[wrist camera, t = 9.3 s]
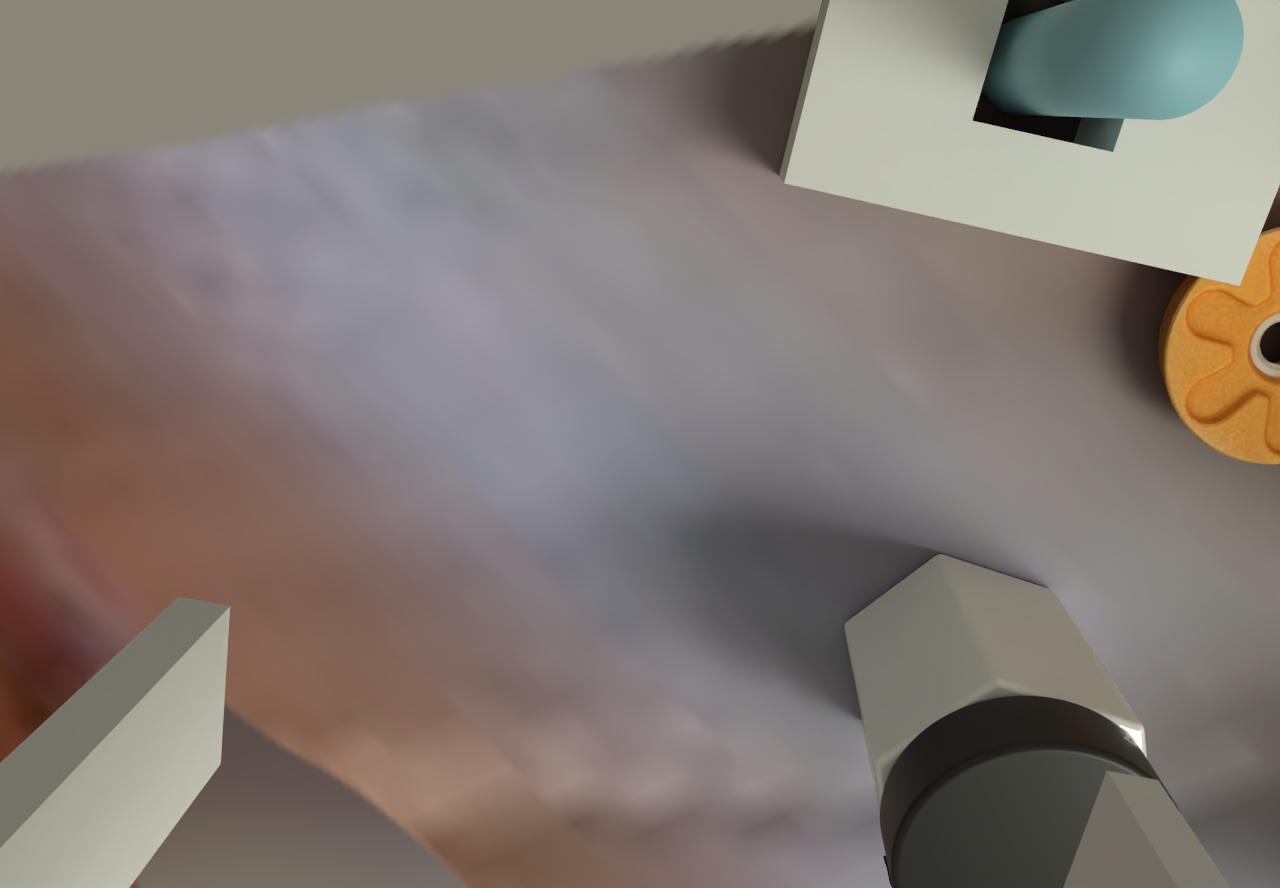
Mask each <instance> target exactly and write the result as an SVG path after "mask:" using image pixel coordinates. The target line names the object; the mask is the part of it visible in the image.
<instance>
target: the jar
mask: <svg viewBox="0 0 1280 888" xmlns="http://www.w3.org/2000/svg"><path fill="white" fill-rule="evenodd" d="M844 630H845V636H846V641H847V646H848V652H849V657H850V663H851V668H852V673H853V679H854V684H855V689H856V695H857V700H858V706H859V711H860V716H861V722H862V727H863V732H864V736H865V741H866V746H867V751H868V756H869V761H870V766H871V770H872V775H873V780H874V785H875V790H876V795H877V800H878V804H879V809H880V826H881V833H882V838H883V843H884V848H885V853H886V856H884V861H885V864H886V867H887V871H888V876H889V881H890V884H891V886H892V887H893V888H1063V887H1064V885H1065V882H1066V879H1067V876H1068V874H1069V871H1070V868H1071V866H1072V863H1073V860H1074V858H1075V855H1076V852H1077V850H1078V847H1079V844H1080V842H1081V839H1082V836H1083V833H1084V831H1085V828H1086V825H1087V823H1088V820H1089V817H1090V815H1091V812H1092V809H1093V807H1094V804H1095V801H1096V799H1097V796H1098V793H1099V790H1100V788H1101V785H1102V782H1103V780H1104V777H1105V774H1106V772H1107V771H1112V772H1117V773H1123V774H1128V775H1133V776H1139V777H1144V778H1149V779H1155V780H1158V781H1159V782H1160V784H1161V785H1162V787H1163V788H1164V790H1165V791H1166V793H1167V794H1168V796H1169V797H1170V799H1171V800H1172V801H1173V799H1172V797H1171V796H1170V794H1169V793H1168V791H1167V790H1166V788H1165V786H1164V785H1163V783H1162V782H1161V780H1160V779H1159V777H1158V775H1157V774H1156V772H1155V771H1154V769H1153V768H1152V766H1151V764H1150V763H1149V761H1148V760H1147V752H1146V742H1145V732H1144V727H1143V725H1142V724H1141V722H1140V721H1139V719H1138V718H1137V716H1136V715H1135V713H1134V712H1133V710H1132V709H1131V707H1130V706H1129V704H1128V703H1127V701H1126V700H1125V698H1124V697H1123V695H1122V694H1121V692H1120V691H1119V689H1118V688H1117V686H1116V685H1115V683H1114V682H1113V680H1112V679H1111V677H1110V676H1109V674H1108V673H1107V671H1106V670H1105V668H1104V667H1103V665H1102V664H1101V662H1100V660H1099V659H1098V657H1097V656H1096V654H1095V653H1094V651H1093V650H1092V648H1091V647H1090V645H1089V644H1088V642H1087V641H1086V639H1085V638H1084V636H1083V635H1082V633H1081V632H1080V630H1079V629H1078V627H1077V626H1076V624H1075V623H1074V621H1073V620H1072V618H1071V617H1070V615H1069V614H1068V612H1067V611H1066V609H1065V608H1064V606H1063V605H1062V603H1061V602H1060V600H1059V599H1058V597H1057V596H1056V594H1055V593H1054V591H1052V590H1051V589H1048V588H1045V587H1042V586H1039V585H1036V584H1033V583H1030V582H1026V581H1023V580H1020V579H1017V578H1014V577H1011V576H1008V575H1005V574H1002V573H999V572H996V571H993V570H990V569H986V568H983V567H980V566H977V565H974V564H971V563H968V562H965V561H962V560H959V559H956V558H952V557H949V556H946V555H943V554H938V555H936V556H934V557H933V558H932V559H930V560H929V561H928V562H926V563H925V564H924V565H922V566H921V567H919V568H918V569H917V570H915V571H914V572H913V573H911V574H910V575H909V576H907V577H906V578H905V579H903V580H902V581H901V582H899V583H898V584H897V585H895V586H894V587H893V588H891V589H890V590H889V591H887V592H886V593H884V594H883V595H882V596H880V597H879V598H878V599H876V600H875V601H874V602H872V603H871V604H870V605H868V606H867V607H866V608H864V609H863V610H862V611H860V612H859V613H858V614H856V615H855V616H854V617H852V618H851V619H849V620H848V621H847V622H846V623H845V626H844ZM1173 803H1174V804H1175V802H1174V801H1173ZM1175 806H1176V807H1177V805H1176V804H1175ZM1177 809H1178V807H1177ZM1178 810H1179V809H1178ZM1179 812H1180V811H1179Z"/></svg>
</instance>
